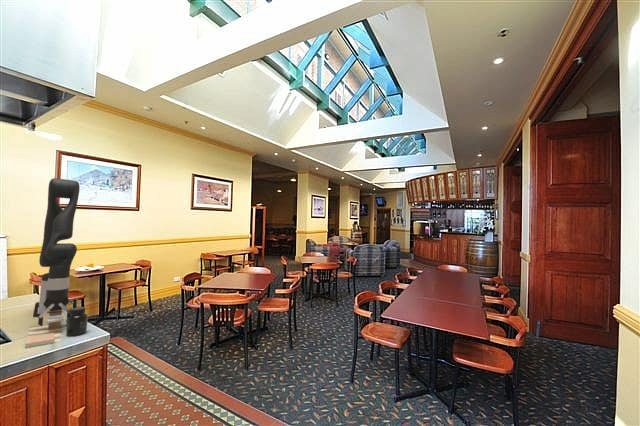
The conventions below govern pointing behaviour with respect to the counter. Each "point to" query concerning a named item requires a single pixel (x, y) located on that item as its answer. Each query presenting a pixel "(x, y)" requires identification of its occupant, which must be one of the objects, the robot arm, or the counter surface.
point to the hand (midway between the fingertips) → (54, 323)
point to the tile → (39, 340)
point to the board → (44, 331)
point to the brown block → (55, 320)
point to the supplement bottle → (76, 322)
